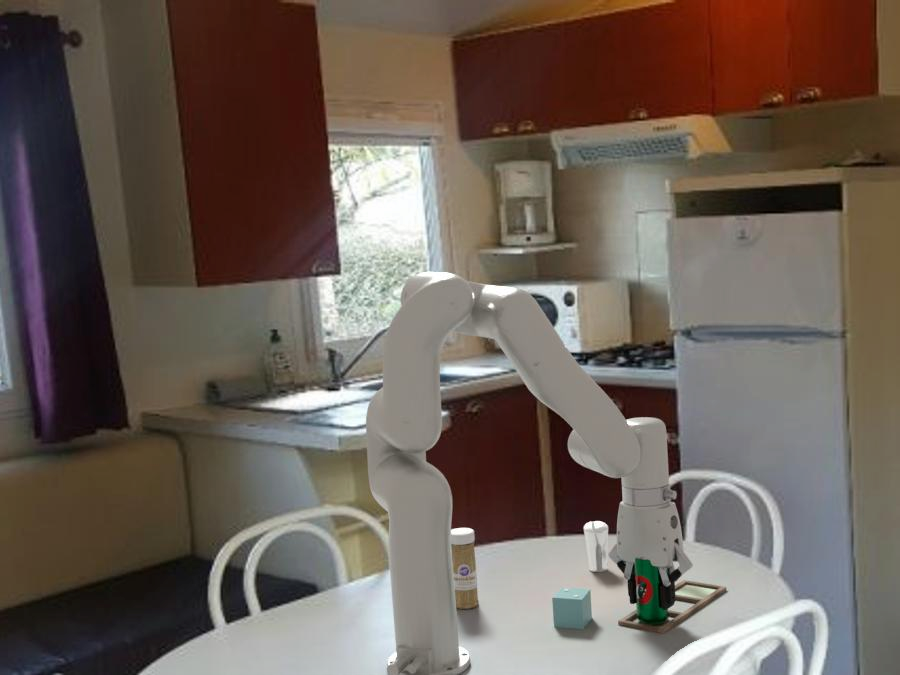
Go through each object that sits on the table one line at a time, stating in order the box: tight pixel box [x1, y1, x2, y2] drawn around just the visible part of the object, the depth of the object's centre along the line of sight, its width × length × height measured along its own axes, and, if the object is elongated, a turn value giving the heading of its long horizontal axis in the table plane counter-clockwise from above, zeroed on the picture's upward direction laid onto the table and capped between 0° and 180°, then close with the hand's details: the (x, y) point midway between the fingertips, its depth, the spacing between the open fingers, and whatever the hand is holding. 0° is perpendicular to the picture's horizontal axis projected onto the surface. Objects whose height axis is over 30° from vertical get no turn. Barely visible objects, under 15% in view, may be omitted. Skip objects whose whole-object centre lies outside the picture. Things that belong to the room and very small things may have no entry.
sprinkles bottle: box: [451, 527, 480, 610], centre depth 195 cm, size 5×5×14 cm
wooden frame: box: [617, 579, 727, 634], centre depth 187 cm, size 23×8×1 cm, turn 141°
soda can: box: [634, 556, 670, 626], centre depth 181 cm, size 5×5×12 cm
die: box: [551, 587, 593, 630], centre depth 183 cm, size 5×5×5 cm
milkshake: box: [583, 520, 609, 573], centre depth 209 cm, size 4×5×10 cm
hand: (652, 603), depth 181 cm, fingers closed on soda can, 5 cm apart
